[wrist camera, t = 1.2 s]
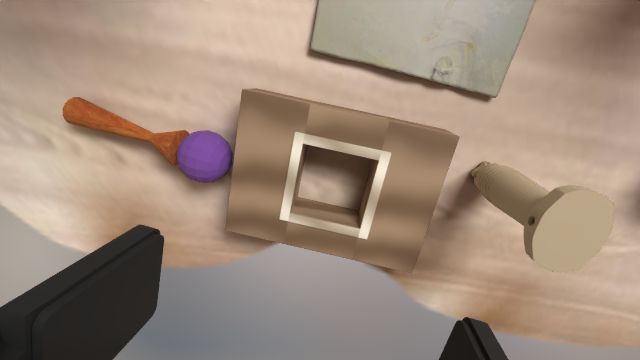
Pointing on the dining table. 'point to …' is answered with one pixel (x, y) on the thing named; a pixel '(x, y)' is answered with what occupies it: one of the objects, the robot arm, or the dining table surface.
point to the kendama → (160, 141)
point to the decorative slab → (426, 37)
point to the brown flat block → (324, 219)
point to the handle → (550, 216)
